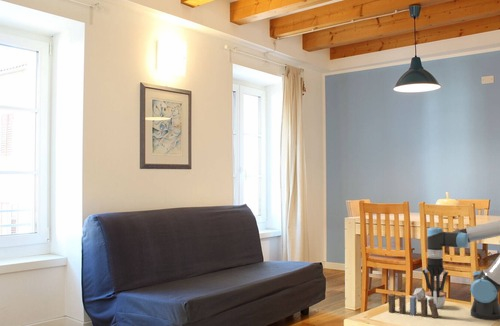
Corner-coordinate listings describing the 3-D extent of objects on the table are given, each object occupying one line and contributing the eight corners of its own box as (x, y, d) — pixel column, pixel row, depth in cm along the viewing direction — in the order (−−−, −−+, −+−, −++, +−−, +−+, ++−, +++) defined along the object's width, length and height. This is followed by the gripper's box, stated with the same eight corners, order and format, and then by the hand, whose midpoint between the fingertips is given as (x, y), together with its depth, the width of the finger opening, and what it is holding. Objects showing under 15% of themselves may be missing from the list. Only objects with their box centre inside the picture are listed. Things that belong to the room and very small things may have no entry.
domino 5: (438, 315, 266) (433, 298, 268) (436, 317, 262) (431, 299, 264) (434, 315, 267) (430, 298, 269) (432, 318, 263) (427, 300, 265)
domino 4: (427, 314, 269) (427, 297, 270) (425, 317, 265) (424, 299, 266) (423, 314, 271) (423, 297, 271) (421, 316, 266) (421, 299, 267)
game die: (423, 307, 300) (430, 296, 294) (409, 302, 301) (415, 290, 296) (424, 297, 307) (431, 285, 301) (410, 291, 309) (416, 280, 303)
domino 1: (395, 310, 279) (394, 294, 279) (392, 312, 274) (392, 295, 275) (391, 310, 280) (391, 293, 280) (388, 312, 275) (388, 295, 276)
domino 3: (410, 315, 269) (409, 297, 270) (412, 313, 274) (412, 296, 274) (414, 315, 268) (413, 298, 269) (416, 313, 272) (416, 296, 273)
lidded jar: (448, 309, 281) (448, 292, 281) (429, 309, 281) (428, 292, 281) (441, 304, 291) (441, 288, 292) (422, 304, 292) (422, 288, 292)
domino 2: (405, 312, 276) (405, 295, 276) (403, 314, 271) (402, 297, 272) (402, 311, 277) (401, 294, 277) (399, 313, 272) (399, 296, 273)
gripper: (420, 257, 266) (420, 303, 265) (446, 259, 259) (447, 306, 258) (424, 255, 272) (424, 300, 272) (449, 257, 266) (450, 303, 265)
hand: (435, 303), depth 265 cm, fingers closed
